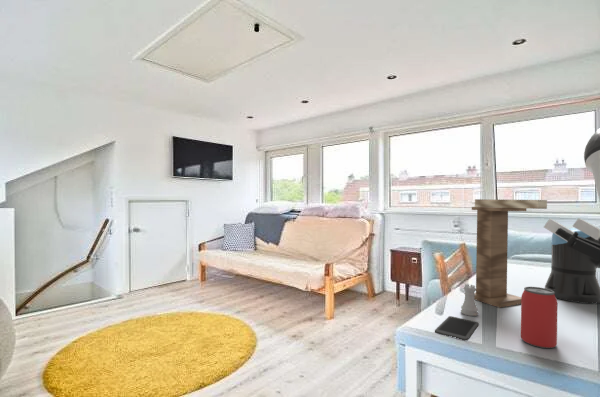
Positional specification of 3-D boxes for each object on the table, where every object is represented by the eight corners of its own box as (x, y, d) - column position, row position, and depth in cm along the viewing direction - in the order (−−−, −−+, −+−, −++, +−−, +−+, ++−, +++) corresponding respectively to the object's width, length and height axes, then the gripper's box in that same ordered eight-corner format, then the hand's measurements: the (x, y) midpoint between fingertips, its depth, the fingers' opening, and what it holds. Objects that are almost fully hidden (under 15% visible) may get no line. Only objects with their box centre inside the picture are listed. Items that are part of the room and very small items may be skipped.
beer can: (524, 346, 71) (525, 291, 71) (517, 334, 78) (518, 284, 78) (561, 352, 69) (562, 295, 69) (551, 339, 75) (551, 287, 75)
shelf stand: (524, 303, 102) (526, 207, 102) (499, 307, 97) (501, 207, 97) (494, 294, 111) (495, 207, 111) (470, 298, 106) (471, 206, 106)
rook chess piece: (471, 317, 89) (472, 288, 89) (457, 312, 93) (457, 284, 93) (481, 315, 91) (482, 286, 91) (467, 310, 95) (467, 282, 95)
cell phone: (433, 333, 78) (433, 330, 78) (449, 318, 89) (449, 315, 89) (467, 342, 73) (467, 339, 73) (479, 325, 84) (479, 322, 84)
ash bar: (546, 208, 93) (547, 200, 93) (538, 208, 92) (538, 199, 92) (482, 206, 111) (482, 199, 111) (474, 206, 110) (474, 199, 110)
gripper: (617, 295, 68) (526, 235, 84) (669, 284, 78) (578, 232, 95) (643, 268, 64) (542, 210, 81) (693, 260, 74) (595, 210, 91)
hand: (561, 222), depth 88 cm, fingers open, 13 cm apart
